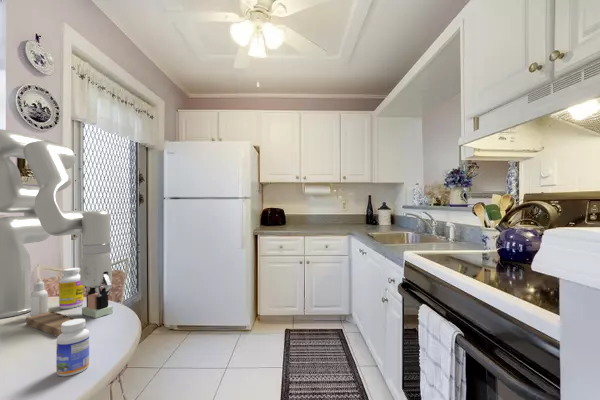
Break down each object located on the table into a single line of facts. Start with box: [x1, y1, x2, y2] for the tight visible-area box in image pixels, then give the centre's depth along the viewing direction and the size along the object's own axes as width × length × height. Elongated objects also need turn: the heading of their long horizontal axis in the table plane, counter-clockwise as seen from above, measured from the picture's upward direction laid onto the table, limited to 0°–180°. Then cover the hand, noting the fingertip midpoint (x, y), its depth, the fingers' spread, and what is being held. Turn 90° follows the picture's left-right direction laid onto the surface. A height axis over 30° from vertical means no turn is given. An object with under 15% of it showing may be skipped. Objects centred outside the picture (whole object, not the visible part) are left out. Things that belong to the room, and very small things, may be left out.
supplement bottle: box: [58, 267, 84, 310], centre depth 103 cm, size 7×7×13 cm
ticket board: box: [25, 310, 86, 337], centre depth 85 cm, size 20×6×2 cm, turn 61°
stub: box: [81, 293, 114, 319], centre depth 95 cm, size 8×5×6 cm, turn 61°
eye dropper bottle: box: [30, 277, 49, 317], centre depth 93 cm, size 4×6×12 cm
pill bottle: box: [55, 318, 90, 377], centre depth 61 cm, size 5×5×10 cm
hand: (97, 306), depth 95 cm, fingers closed on stub, 5 cm apart
